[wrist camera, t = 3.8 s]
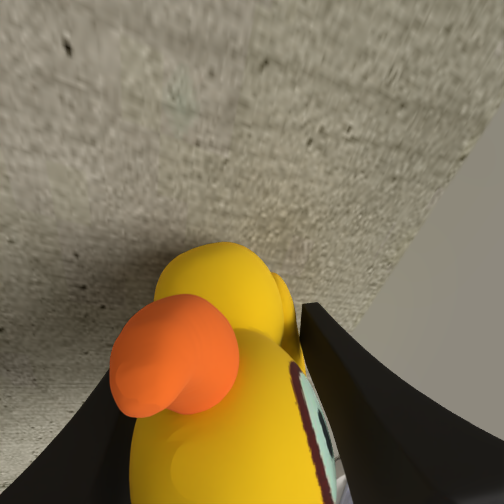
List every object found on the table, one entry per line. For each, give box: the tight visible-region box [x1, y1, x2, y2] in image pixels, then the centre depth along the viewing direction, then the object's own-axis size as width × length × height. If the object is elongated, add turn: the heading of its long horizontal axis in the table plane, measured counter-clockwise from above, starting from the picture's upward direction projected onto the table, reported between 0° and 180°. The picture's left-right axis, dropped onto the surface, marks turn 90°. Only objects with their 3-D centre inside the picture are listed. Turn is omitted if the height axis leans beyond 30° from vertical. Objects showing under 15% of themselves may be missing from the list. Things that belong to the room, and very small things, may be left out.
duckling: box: [110, 242, 337, 504], centre depth 10 cm, size 11×5×10 cm, turn 15°
